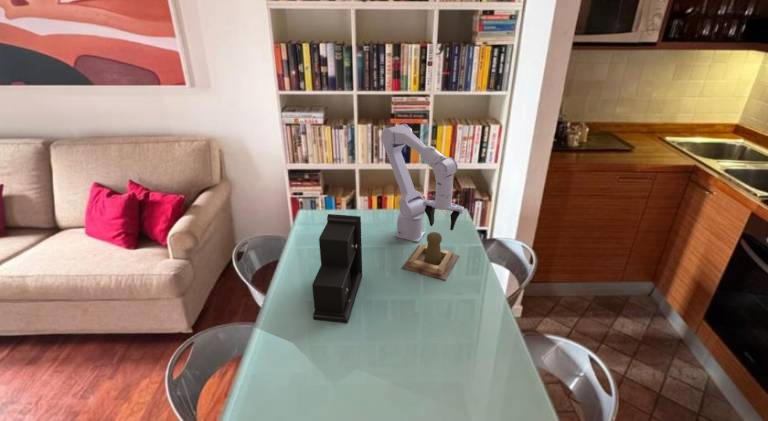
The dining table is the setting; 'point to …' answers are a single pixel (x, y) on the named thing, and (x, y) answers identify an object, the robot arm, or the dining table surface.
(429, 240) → the cork
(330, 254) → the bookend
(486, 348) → the dining table surface
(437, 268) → the socket block
